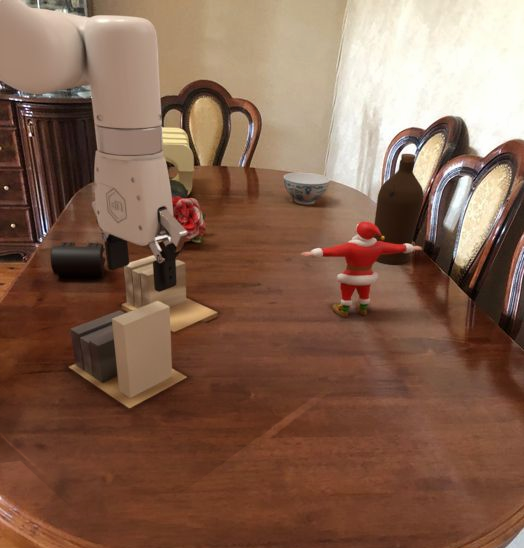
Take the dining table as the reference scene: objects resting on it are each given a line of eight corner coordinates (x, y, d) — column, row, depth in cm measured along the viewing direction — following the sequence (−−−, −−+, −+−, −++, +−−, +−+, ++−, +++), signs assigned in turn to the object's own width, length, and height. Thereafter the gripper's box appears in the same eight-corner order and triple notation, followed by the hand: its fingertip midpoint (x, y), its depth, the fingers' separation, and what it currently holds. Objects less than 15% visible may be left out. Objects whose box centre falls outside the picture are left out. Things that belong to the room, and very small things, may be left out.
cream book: (119, 391, 77) (111, 318, 70) (161, 369, 82) (157, 300, 76) (130, 398, 75) (123, 325, 69) (172, 376, 81) (169, 306, 75)
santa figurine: (400, 302, 111) (418, 214, 101) (414, 314, 106) (435, 224, 96) (288, 311, 104) (297, 219, 94) (298, 325, 99) (308, 229, 90)
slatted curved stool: (194, 205, 163) (193, 145, 154) (141, 205, 160) (137, 143, 151) (188, 181, 188) (188, 128, 179) (143, 180, 185) (140, 126, 176)
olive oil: (411, 268, 128) (435, 161, 115) (368, 263, 129) (386, 157, 116) (408, 253, 137) (429, 152, 124) (367, 248, 138) (384, 148, 125)
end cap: (53, 282, 110) (48, 251, 106) (61, 268, 116) (57, 239, 112) (102, 282, 111) (99, 252, 107) (108, 269, 117) (105, 240, 113)
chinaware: (297, 210, 165) (300, 185, 161) (273, 197, 176) (274, 174, 172) (336, 205, 172) (339, 181, 168) (310, 194, 183) (312, 171, 179)
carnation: (169, 235, 160) (185, 274, 131) (118, 196, 151) (123, 228, 122) (201, 195, 157) (225, 226, 128) (152, 152, 148) (165, 175, 119)
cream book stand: (121, 309, 101) (117, 265, 96) (165, 292, 108) (163, 250, 104) (174, 336, 93) (172, 290, 88) (217, 316, 100) (218, 273, 96)
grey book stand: (69, 372, 82) (62, 330, 78) (126, 346, 89) (123, 307, 85) (129, 413, 74) (125, 369, 70) (187, 382, 81) (186, 340, 77)
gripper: (59, 134, 63) (79, 267, 72) (153, 157, 54) (162, 306, 63) (111, 128, 68) (124, 253, 77) (205, 149, 59) (207, 288, 68)
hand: (141, 277), depth 70 cm, fingers open, 9 cm apart
